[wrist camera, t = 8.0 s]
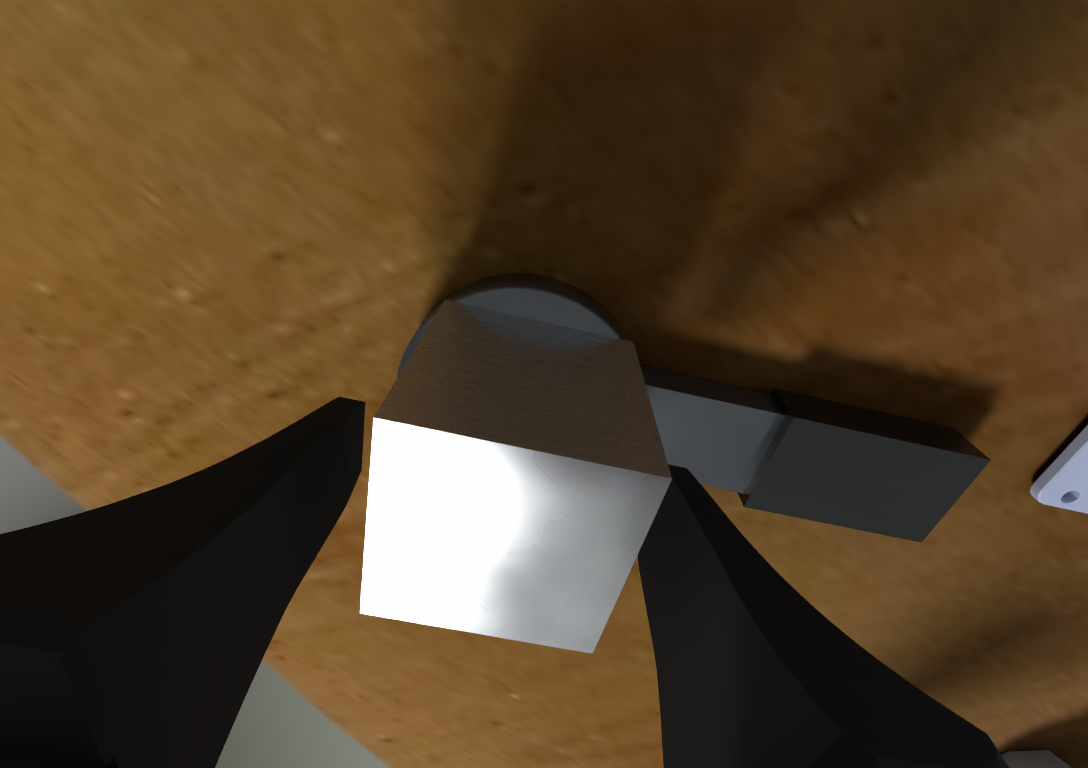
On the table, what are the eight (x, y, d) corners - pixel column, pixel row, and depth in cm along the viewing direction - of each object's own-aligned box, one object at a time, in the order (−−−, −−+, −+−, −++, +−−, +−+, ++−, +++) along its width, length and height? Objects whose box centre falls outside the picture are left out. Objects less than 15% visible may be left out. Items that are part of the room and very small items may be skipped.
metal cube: (633, 341, 13) (672, 478, 8) (584, 484, 16) (592, 653, 11) (445, 299, 13) (373, 417, 8) (424, 452, 15) (359, 613, 10)
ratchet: (1002, 382, 15) (1153, 479, 11) (875, 545, 18) (957, 662, 14) (421, 248, 14) (364, 305, 10) (400, 450, 17) (352, 551, 13)
